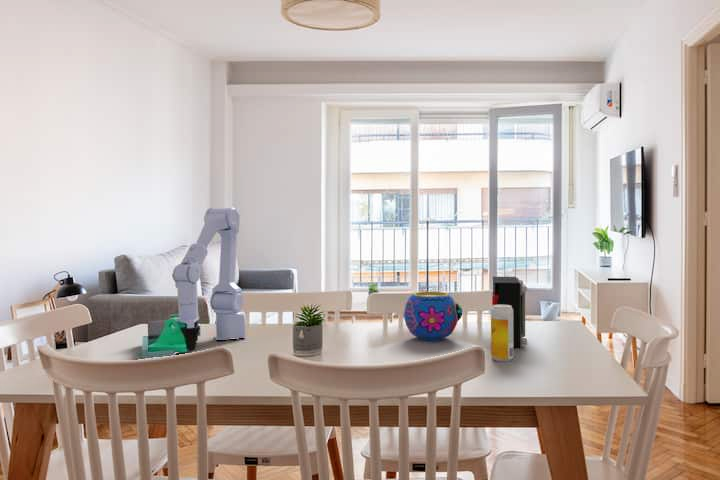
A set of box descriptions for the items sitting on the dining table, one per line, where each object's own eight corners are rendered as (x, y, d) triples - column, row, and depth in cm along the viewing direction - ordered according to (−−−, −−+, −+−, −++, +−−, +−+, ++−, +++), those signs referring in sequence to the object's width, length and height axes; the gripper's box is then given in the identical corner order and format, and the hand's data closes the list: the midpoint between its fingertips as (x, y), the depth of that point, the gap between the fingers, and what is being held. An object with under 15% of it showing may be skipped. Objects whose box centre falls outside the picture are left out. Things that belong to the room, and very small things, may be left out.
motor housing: (199, 339, 189) (198, 311, 189) (201, 344, 182) (200, 315, 181) (148, 343, 184) (147, 314, 183) (148, 348, 176) (147, 318, 176)
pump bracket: (171, 346, 180) (171, 333, 179) (174, 361, 160) (173, 347, 160) (143, 348, 177) (142, 336, 176) (142, 364, 157) (141, 350, 157)
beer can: (497, 355, 162) (496, 303, 161) (517, 358, 158) (516, 305, 157) (487, 359, 157) (487, 306, 156) (507, 363, 153) (507, 308, 152)
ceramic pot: (468, 342, 179) (468, 295, 178) (417, 347, 173) (416, 298, 173) (444, 332, 195) (443, 289, 195) (396, 336, 190) (395, 291, 189)
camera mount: (146, 355, 168) (145, 321, 167) (158, 349, 175) (157, 316, 175) (185, 355, 167) (184, 321, 166) (195, 349, 174) (194, 316, 174)
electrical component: (527, 349, 168) (527, 282, 168) (492, 348, 171) (492, 282, 170) (522, 337, 186) (522, 276, 185) (491, 336, 188) (490, 276, 187)
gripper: (173, 300, 176) (175, 343, 177) (175, 308, 163) (177, 354, 163) (196, 298, 179) (198, 341, 179) (200, 305, 165) (202, 351, 166)
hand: (190, 347), depth 172 cm, fingers open, 7 cm apart
